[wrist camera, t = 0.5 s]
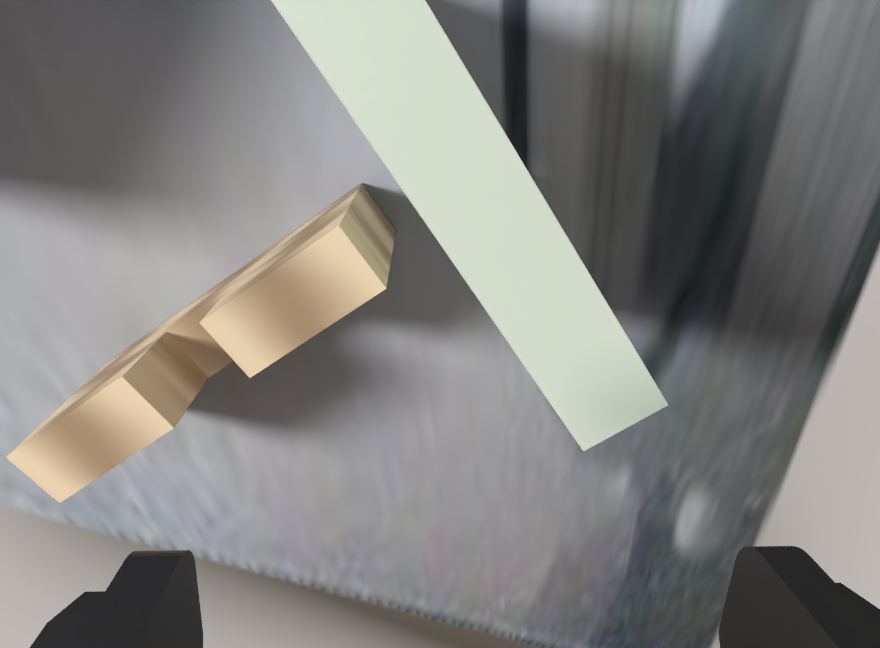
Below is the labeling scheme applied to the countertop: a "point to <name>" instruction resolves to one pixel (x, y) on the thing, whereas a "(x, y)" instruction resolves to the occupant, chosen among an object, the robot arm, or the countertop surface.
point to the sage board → (478, 203)
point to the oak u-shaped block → (214, 343)
